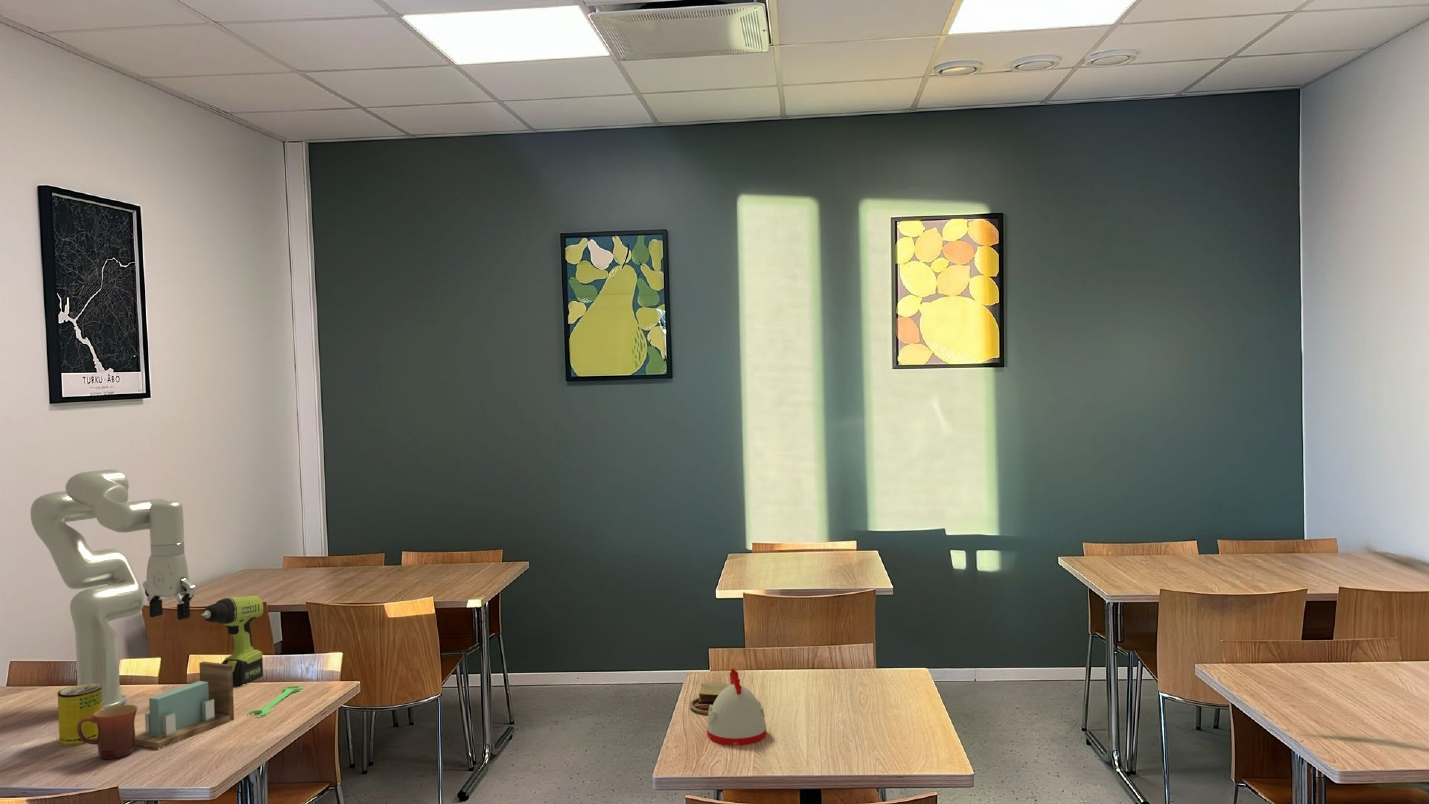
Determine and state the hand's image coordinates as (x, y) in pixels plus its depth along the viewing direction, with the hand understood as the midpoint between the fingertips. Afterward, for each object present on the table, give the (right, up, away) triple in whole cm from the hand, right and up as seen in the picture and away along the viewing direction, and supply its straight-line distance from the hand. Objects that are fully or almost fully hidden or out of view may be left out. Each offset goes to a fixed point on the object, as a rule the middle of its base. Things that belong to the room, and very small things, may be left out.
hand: (169, 617), depth 249 cm
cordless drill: (+1, -26, +29) cm, 39 cm away
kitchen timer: (+144, -24, -18) cm, 147 cm away
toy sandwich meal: (+138, -24, +2) cm, 140 cm away
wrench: (+21, -26, +13) cm, 36 cm away
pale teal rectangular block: (+7, -25, -9) cm, 27 cm away
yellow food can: (-15, -27, -11) cm, 33 cm away
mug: (-1, -27, -23) cm, 36 cm away
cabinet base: (+8, -26, -9) cm, 29 cm away
